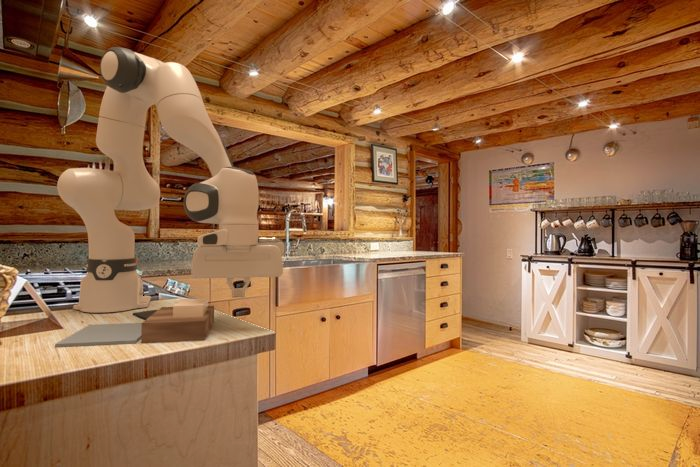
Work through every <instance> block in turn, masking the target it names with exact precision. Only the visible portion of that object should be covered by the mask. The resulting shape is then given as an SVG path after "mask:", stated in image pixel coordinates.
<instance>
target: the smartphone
mask: <svg viewBox="0 0 700 467" xmlns="http://www.w3.org/2000/svg"><path fill="white" fill-rule="evenodd" d="M158 310H159V309H152V310H146V311H145V310H143V311H138V312H133V313H132V316H134V317H136V318H138V319H140V320H143V321H145V320H146V319H147V318H149V317H150V316H151V315H152V314H154V313H155V312H156V311H158Z"/></svg>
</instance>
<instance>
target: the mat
mask: <svg viewBox="0 0 700 467" xmlns="http://www.w3.org/2000/svg"><path fill="white" fill-rule="evenodd" d="M141 329H142V322H130V323H123V322H122V323H107V324H106V323H104V324H103V323H100V324H98V323H97V324H88V325H87V326H84V327H83V328H82V329H80V330H77V331H76V332H74V333H72V334H70V335H69V336H67V337H65V338H63V339H61V340H59V341H58V342H56V343H55V344H54V347H55V348H64V347H83V346H87V347H88V346H107V345H108V346H109V345H126V344H127V345H129V344H132V345H133V344H137V343H138V342H139V341H141Z"/></svg>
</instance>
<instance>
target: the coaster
mask: <svg viewBox="0 0 700 467" xmlns="http://www.w3.org/2000/svg"><path fill="white" fill-rule="evenodd" d="M208 306H209V298H187V299H186V298H183V299H179V300H178V301H177V302H176V303H175V304H174V305H173V306H172V307H173V318H179V317H203V316H204V314H205V313H206V311H207V310H208Z"/></svg>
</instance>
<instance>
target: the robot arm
mask: <svg viewBox="0 0 700 467" xmlns="http://www.w3.org/2000/svg"><path fill="white" fill-rule="evenodd" d="M99 74H100V76H101V78H102V82H103V83H104V84H105V85H106V87H105V91H104V94H103V96H102V99H101V103H100V108H99V114H98V119H97V120H98V122H97V130H96V136H95V144H96V147H97V148H98V150H99V151H100V152H101V153H102V154H104V155H105V156H106V157H108V158H110V159H111V160H112V162H113V166H114V169H113V170H110V169H109V170H108V169H101V168H100V169H99V168H93V167H75V168H74V167H73V168H67V169H66V170H65V171H63V172H62V173H61V175H60V176H59V178H58V180H57V184H56V187H57V188H56V189H57V193H58V195H59V197H60V199H61V200H62V201H63V202H64V203H65V204H66V205H67V206H69V207H71V208H72V209H73V210H74V211H75V212H76V213H77V214H78V215H79V217H80V218H81V220H82V221H83V223H84V225H85V227H86V231H87V232H86V233H87V239H88V240H87V241H88V258H87V259H86V264H85V267H86V272H87V274H86V275H85V276H84V277H82V279H81V280H80V288H79V296H78V304H74V305H73V307H72V310H76V311H77V310H78V311H81V312H84V313H95V314H96V313H115V312H125V311H129V310H133V309H134V310H135V309H143V308H148V307H149V305H150V303H151V301H152V300H151V299H152V297H151V295H144V294H145V291H144V281H143V280H142V279H141V277H140V275H139V273H138V272H137V269H138V263H139V262H138V258H137V257H135V246H136V245H135V240H136V234H135V232H134V230H133V229H132V227H131V226H129V225H127V224H126V223H123V222H121V221H119V219H118V218H117V216H116V212H115V210H118V211H133V212H138V211H145V210H151V209H153V208H155V207H156V205H157V204H158V202H159V201H160V199H161V189H160V186H159V184H158V182H157V180H156V179H154V178H153V176H151V174H150V173H149V171H148V170H147V168H146V165H145V161H144V155H143V149H144V147H143V146H144V137H145V130H146V124H147V113H148V110H149V109H150V108H151V107H152V106H154V105H155V108H156V111H157V116H158V118H159V122H160V123H161V126H162V127H163V128H162V129H164V131H165V133H166V134H167V135H168V136H169V137H170V138H171V139H173V140H174V141H175V142H177V143H179V144H181V145H182V146H184V147H186V148H188V149H189V150H191V151H192V152H194V153H195V154H197V155H198V156H199V157H200V158H201V159H202V160H203V161H204V162H205V164H206V166H207V168H208V169H209V172H210V175H211V178H208V179H206V180H204V181H200V182H195V183H193V184H191V186H189V187H188V188H187V189H186V192H185V193H184V196H183V209H184V212H185V214H186V215H187V217H188V218H189V219H191V221H194V222H197V223H199V224H200V223H202V224H212V225H218V230H215V231H214V230H213V231H209V233H205V234H201V235H199V236H198V237H197V245H198V246H197V247H196V248H195V250H194V252H193V255H192V259H191V268H190V273H191V277H193V278H194V279H199V280H200V279H226V284H227V285H228V287H229V289H230V290H231V298H232V299H233V298H245V297H246V290H247V288H248V287H249V284H250V283H251V278H279V277H281V276H282V275H283V274H284V266H283V264H284V263H283V257H282V256H283V255H284V254H285V243H284V241H283V240H282V239H279V238H278V237H275V236H274V237H273V236H272V237H261V236H260V237H259V220H258V217H257V216H258V209H259V205H260V204H259V202H260V201H259V185H258V184H259V183H258V180H257V176H256V174H255V173H254V171H251V170H249V169H245V168H241V167H235V166H234V163H233V161H232V159H231V156H230V154H229V152H228V150H227V147H226V145H225V143H224V141H223V139H222V138H221V135H219V133H218V132H217V131H218V130H216V128H215V127H214V126H215V125H214V124H213V123H212V120H211V118H210V117H209V116H210V115H209V114H208V111H207V109H206V106H205V103H204V100H203V97H202V94H201V92H200V89H199V87H198V85H197V82H196V80H195V78H194V76H193V75H192V73H191V72H190V70H189V69H188V68H187V67H186V66H184V65H183V64H182V63H179V62H175V61H169V62H164V61H162V60H160V59H156V58H155V57H151V56H147V55H145V54H142V53H138V52H136V51H133V50H132V49H129V48H125V47H120V46H112V47H110V48H108V49H107V50H106V51H105V52H104V53H103V55H102V56H101V58H100V63H99ZM238 278H243V283H245V284H244V285H243V287H242V288H235V286H234V284H233V283H234V281H235V279H238ZM143 295H144V296H143Z"/></svg>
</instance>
